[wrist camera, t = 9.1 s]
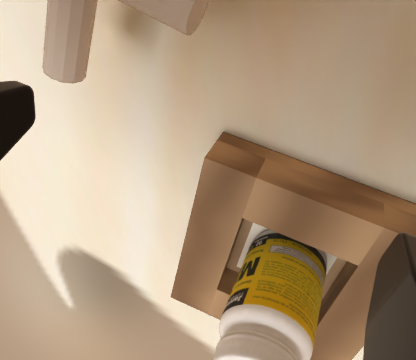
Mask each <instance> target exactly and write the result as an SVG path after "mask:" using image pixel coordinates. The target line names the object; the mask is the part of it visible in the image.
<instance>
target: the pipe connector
mask: <svg viewBox="0 0 416 360" xmlns="http://www.w3.org/2000/svg"><path fill="white" fill-rule="evenodd" d="M97 1H98V0H48V4H47V17H46V30H45V43H44V55H43V71H44V73H45V74H46V75H47V76H49V77H50V78H51V79H54V80H57V81H59V82H63V83H77V82H81V81H83V79H84V78H85V77H86V71H87V65H88V58H89V52H90V46H91V39H92V33H93V26H94V20H95V14H96V7H97ZM119 1H121V2H123V3H125V4H127V5H129V6H131V7H133V8H135V9H137V10H139V11H141V12H143V13H145V14H147V15H149V16H151V17H152V18H154V19H156V20H158V21H160V22H162V23H164V24H166V25H168V26H170V27H172V28H174V29H176V30H178V31H180V32H182V33H184V34H186V35H191V34H192V33H193V32H194V31H195V30H196V28H197V27H198V25H199V23H200V21H201V20H202V17H203V15H204V13H205V10H206V8H207V4H208V0H119Z"/></svg>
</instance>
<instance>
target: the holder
mask: <svg viewBox="0 0 416 360" xmlns="http://www.w3.org/2000/svg"><path fill="white" fill-rule="evenodd" d="M268 230H272V231H275V232H277V233H280V234H282V235H285V236H287V237H289V238H292V239H294V240H297V241H299V242H302V243H304V244H307V245H309V246H311V247H314V248H316V249H319V250H321V251H323V253H324V255H325V257H326V262H327V270H326V277H325V283H324V288H323V294H322V299H321V305H320V311H319V317H318V323H317V329H316V335H315V342H314V348H313V352H312V356H311V358H310V360H352V359H353V358H354V356H355V355H356V354H357V353H358V352H359V351H360V350H361V348H362V347H363V346H364V339H365V328H366V322H367V316H368V311H369V306H370V301H371V296H372V291H373V286H374V280H375V275H376V270H377V266H378V263H379V260H380V258H381V257H382V255H383V254H384V252H385V251H386V249H387V248H388V247H389V245H390V244H391V243H392V241H393V240H394V238H395V237H396V236H397V235H398V234H399V233H401V232H405V233H407V234H410V235H413V236H415V237H416V204H413V203H411V202H408V201H405V200H403V199H400V198H397V197H395V196H392V195H389V194H387V193H384V192H381V191H379V190H376V189H373V188H371V187H368V186H365V185H363V184H360V183H357V182H355V181H352V180H349V179H347V178H344V177H341V176H339V175H336V174H333V173H331V172H328V171H325V170H323V169H320V168H317V167H315V166H312V165H309V164H307V163H304V162H301V161H299V160H296V159H293V158H291V157H288V156H286V155H283V154H280V153H278V152H275V151H272V150H270V149H267V148H264V147H262V146H259V145H256V144H254V143H251V142H248V141H246V140H243V139H240V138H238V137H235V136H232V135H230V134H227V133H224V132H223V133H222V135H221V136H220V137H219V139H218V140H217V141H216V143H215V144H214V146H213V147H212V148H211V150H210V151H209V152H208V154H207V155H206V157H205V158H204V162H203V166H202V171H201V175H200V179H199V183H198V187H197V191H196V195H195V199H194V203H193V208H192V212H191V216H190V220H189V224H188V228H187V232H186V236H185V240H184V244H183V249H182V253H181V257H180V261H179V265H178V269H177V273H176V277H175V281H174V286H173V290H172V294H171V297H172V298H174V299H176V300H178V301H180V302H182V303H185V304H187V305H189V306H191V307H193V308H196V309H198V310H200V311H202V312H204V313H206V314H209V315H211V316H213V317H215V318H217V319H220V320H221V317H222V314H223V311H224V309H225V307H226V305H227V302H228V300H229V297H230V295H231V292H232V289H233V287H234V284H235V282H236V279H237V277H238V275H239V272H240V270H241V267H242V265H243V262H244V260H245V257H246V254H247V252H248V250H249V247H250V245H251V243H252V242H253V240H254V239H255V238H256V237H257V236H258V235H259V234H261V233H263V232H265V231H268Z"/></svg>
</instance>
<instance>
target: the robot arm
mask: <svg viewBox="0 0 416 360" xmlns="http://www.w3.org/2000/svg"><path fill="white" fill-rule="evenodd" d="M34 121H35V103H34V92H33V90H32V88H31V87H30V86H28V85H25V84H23V83H20V82H18V81H5V82H0V160H1V159H2V158H3V157H4V156H5V155H6V154H7V153H8V152H9V151H10V150H11V148H12V147H13V146H14V145H15V144H16V143H17V142H18V141H19V140H20V139H21V138H22V136H23V135H24V134H25V133H26V132H27V131H28V130H29V129H30V128H31V127H32V125H33V123H34ZM363 360H416V237H415V236H413V235H410V234H407V233H405V232H401V233H399V234H398V235H397V236H396V237H395V238H394V240H393V241H392V243H391V244H390V245H389V247H388V248H387V249H386V251H385V252H384V254H383V255H382V257H381V258H380V260H379V263H378V266H377V270H376V275H375V280H374V286H373V291H372V296H371V301H370V306H369V311H368V316H367V322H366V328H365V339H364V356H363Z"/></svg>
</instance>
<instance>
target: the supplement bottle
mask: <svg viewBox="0 0 416 360" xmlns="http://www.w3.org/2000/svg"><path fill="white" fill-rule="evenodd" d="M326 270H327V262H326V257H325V255H324V253H323V251H321V250H319V249H316V248H314V247H311V246H309V245H307V244H304V243H302V242H299V241H297V240H294V239H292V238H289V237H287V236H285V235H282V234H280V233H277V232H275V231H272V230H268V231H265V232H263V233H261V234H259V235H258V236H257V237H256V238H255V239H254V240H253V242H252V243H251V245H250V247H249V250H248V252H247V254H246V257H245V260H244V262H243V265H242V267H241V270H240V272H239V275H238V277H237V279H236V282H235V284H234V287H233V289H232V292H231V295H230V297H229V300H228V302H227V305H226V307H225V309H224V311H223V314H222V317H221V320H220V325H219V333H220V337H221V339H220V341H219V342H218V344H217V346H216V351H215V354H214V357H213V360H310V358H311V356H312V352H313V348H314V342H315V335H316V329H317V323H318V317H319V311H320V305H321V299H322V294H323V288H324V283H325V277H326Z"/></svg>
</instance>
